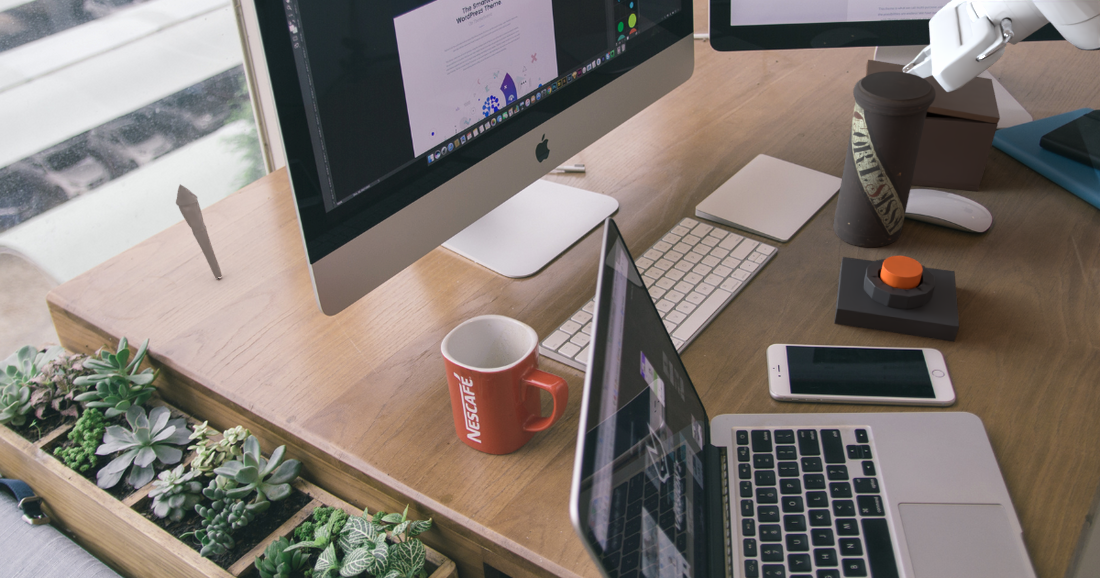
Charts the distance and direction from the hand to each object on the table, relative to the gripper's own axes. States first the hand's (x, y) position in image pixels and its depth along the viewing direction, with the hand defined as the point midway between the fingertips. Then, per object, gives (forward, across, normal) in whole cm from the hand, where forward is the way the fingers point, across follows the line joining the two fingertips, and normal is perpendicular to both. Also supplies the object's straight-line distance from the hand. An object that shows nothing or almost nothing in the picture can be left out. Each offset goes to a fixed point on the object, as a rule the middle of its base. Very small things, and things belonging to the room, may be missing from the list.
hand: (905, 77), depth 105 cm
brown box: (+6, 0, -11) cm, 13 cm away
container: (+10, -19, -7) cm, 23 cm away
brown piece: (-1, 0, -4) cm, 4 cm away
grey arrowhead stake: (+66, -49, +48) cm, 95 cm away
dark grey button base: (+8, -34, -10) cm, 36 cm away
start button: (+5, -34, -7) cm, 35 cm away
